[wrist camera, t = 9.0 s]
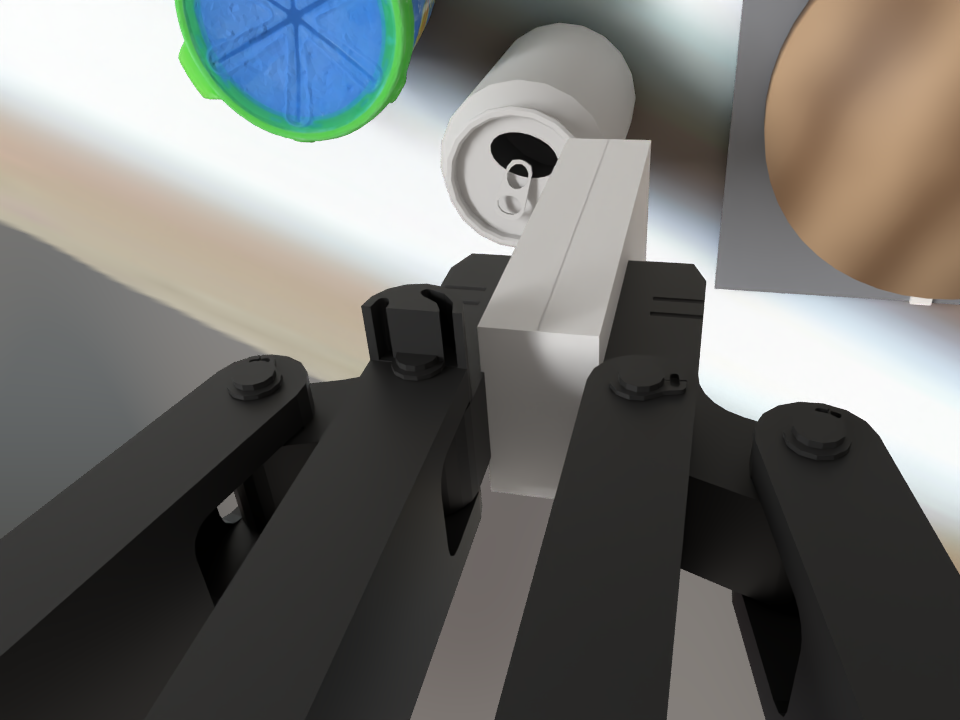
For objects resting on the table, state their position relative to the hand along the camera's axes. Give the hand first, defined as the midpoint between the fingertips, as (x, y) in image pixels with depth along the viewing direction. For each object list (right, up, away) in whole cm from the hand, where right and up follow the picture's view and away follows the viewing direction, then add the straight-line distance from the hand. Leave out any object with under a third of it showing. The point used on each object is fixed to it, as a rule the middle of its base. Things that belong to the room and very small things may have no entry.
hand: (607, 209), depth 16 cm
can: (+2, +11, +29) cm, 31 cm away
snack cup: (-8, +17, +28) cm, 34 cm away
